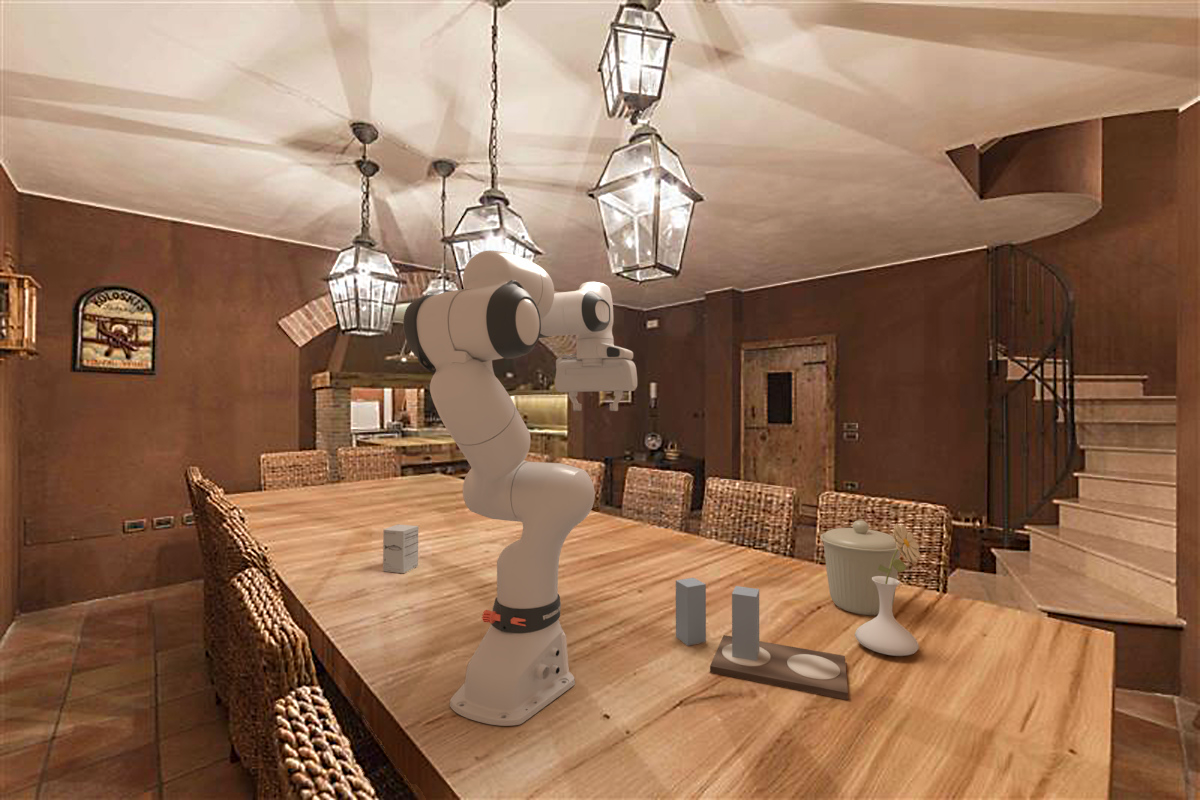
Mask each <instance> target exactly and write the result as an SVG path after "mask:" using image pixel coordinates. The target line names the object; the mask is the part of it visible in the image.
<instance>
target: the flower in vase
mask: <svg viewBox="0 0 1200 800" xmlns="http://www.w3.org/2000/svg"><path fill="white" fill-rule="evenodd" d="M891 536H893V538H894V542H895V544H897V546H896V547H897V549H896V551H895V553H894V555H893V557H892V561H891V564H890V567H889V569H888V568H886V567H884V566H882V565H880V566H879V568H878V570H879V571H882V572H885V573H887V577H885V576H875V577H872V580H873V581H874V583H875V584H876V586H877V589H878V593H879V599H880V610H879V614H878V615H876V616H875V617H874V618H872V619H871V620H868V621H866V622H865V623H863V624H861V625H860V626H858V627H857V628H856V630H855V633H854V636H855V639H856V641H857V642H858V643H859V644H860V645H862V646H863V647H865V648H867V649H868V650H871V651H873V652H876V653H878V654H882V655H885V656H887V655H888V656H893V657H903V656H910V655H913V654H916V652H917V651H919V650H920V644H919V643H918V640H917V639H916V638H915V636H914V635H913V634H912V633H911V632H910V631H909V630H908V629H906V628H905V627H904V626H903V625H901V624H900V622H898V621H897V620H896V618H895V616H894V614H893V606H892V600H893V594H894V591H895V592H896V590H895V589H897V587H898V586H899V585H900V584H901V581H900V580H898V578H897V579H894V578H891V577H889V573H890V572H891V571H892V570H891V567H892V565H893V567H894V568H895V569H896V570H897V571H898V573H903V572H905V571H906V569H907V566H906V563H905V562H903V561H902V560H901V559H900V558H899V559H895V560H894V558H895V555H896V553H897V551H900V556H902V557H903V559H904V560H908V561H909V563H910V562H912V563H914V564H915V563H918V559H921V552H920V551H919V549H920V547H921V546H920V545H919V544H918V543H917V540H916V539H915V538H914V534H913V532H911V531H910V532H909V531H908V530H907V528H906V526H905V525H904V524H900V525H899V524H898V523H896V524H895V525H894V526H893V529H892V534H891ZM893 561H894V562H893Z"/></svg>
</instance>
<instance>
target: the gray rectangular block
mask: <svg viewBox="0 0 1200 800" xmlns="http://www.w3.org/2000/svg"><path fill="white" fill-rule="evenodd" d="M706 585H707V584H706V583H705V582H702V581H701V580H699V579H698V578H695V577H689V578H683V579H677V580H676V579H675V638H676V637H677V638H676V639H678V640H679V641H680V640H681V641H680V642H682V643H683V644H684V645H686V646H687V647H689V646H694V645H698V644H703V643H706V642H707V603H706V601H707V597H706V596H707V589H706V588H707V586H706Z"/></svg>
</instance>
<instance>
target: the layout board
mask: <svg viewBox="0 0 1200 800" xmlns="http://www.w3.org/2000/svg"><path fill="white" fill-rule="evenodd" d="M709 673H712V674H716V675H721V676H725V677H731V678H736V679H740V680H746V681H751V682H756V683H759V684H767V685H771V686H776V687H780V688H786V689H790V690H796V691H800V692H805V693H810V694H811V693H812V694H816V695H821V696H825V697H830V698H834V699H839V700H844V701H845V700H846V701H849V695H848V694H849V691H848V689H849V688H848V677H847V665H846V655H844V654H836V653H830V652H827V651H826V652H825V651H821V650H815V649H814V650H812V649H809V648H803V647H802V648H801V647H796V646H790V645H784V644H779V643H773V642H766V641H761V640H759V654H758V658H757V661H753V660H747V659H742V658H736V657H732V635H726V634H723V635H722V638H721V640H720V642H719V644H718V647H717V648H716V651H715V654H714V657H713V658H712V660H711V663H710V665H709Z"/></svg>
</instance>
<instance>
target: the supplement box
mask: <svg viewBox="0 0 1200 800" xmlns="http://www.w3.org/2000/svg"><path fill="white" fill-rule="evenodd" d="M382 540H383V542H382V543H383V545H382V551H383V555H382V557H383V558H382V566H383V567H382V571H383V572H389V573H397V574H402V573H404V574H405V572H406V573H407V571H408V572H410V571H412V570H414V569H416V568H418V567H419V525H409V524H400V523H399V524H395V525H392V526H390V527H387V528H383V538H382ZM417 566H418V567H417ZM415 567H416V568H415ZM413 568H414V569H413ZM411 569H412V570H411ZM409 570H410V571H409Z"/></svg>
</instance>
